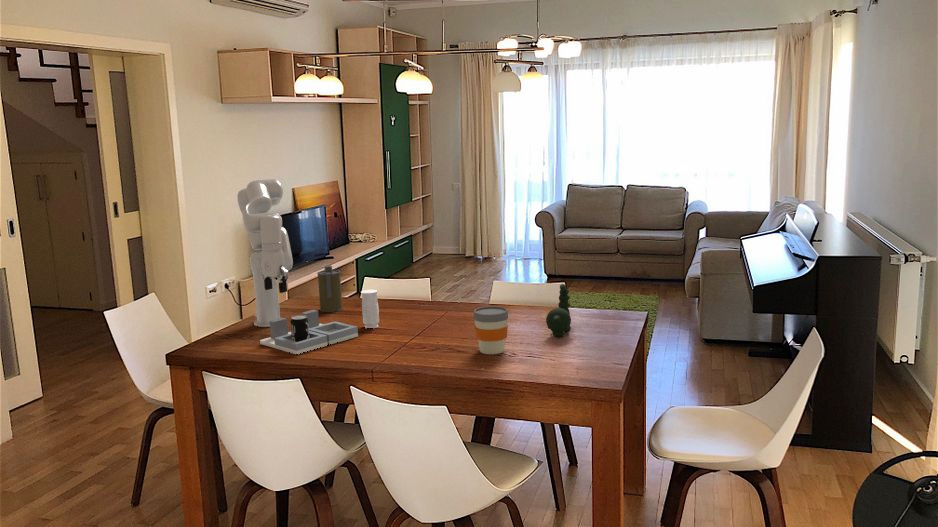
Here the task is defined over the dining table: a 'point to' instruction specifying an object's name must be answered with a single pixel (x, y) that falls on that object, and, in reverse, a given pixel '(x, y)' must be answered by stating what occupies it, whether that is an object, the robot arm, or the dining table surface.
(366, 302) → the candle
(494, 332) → the reusable coffee cup
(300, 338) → the beverage can
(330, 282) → the canister
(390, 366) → the dining table surface
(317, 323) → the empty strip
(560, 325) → the toy figurine
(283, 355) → the dining table surface
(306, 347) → the grey tray
